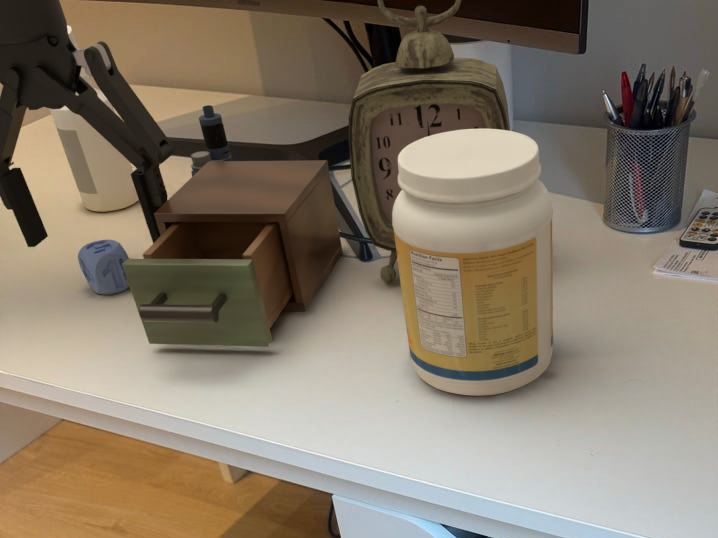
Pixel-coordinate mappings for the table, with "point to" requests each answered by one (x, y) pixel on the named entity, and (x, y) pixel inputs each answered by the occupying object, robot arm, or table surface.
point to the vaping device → (211, 140)
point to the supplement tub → (475, 260)
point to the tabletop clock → (414, 115)
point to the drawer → (212, 283)
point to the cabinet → (269, 212)
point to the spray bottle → (94, 158)
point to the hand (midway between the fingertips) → (100, 241)
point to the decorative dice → (104, 266)
